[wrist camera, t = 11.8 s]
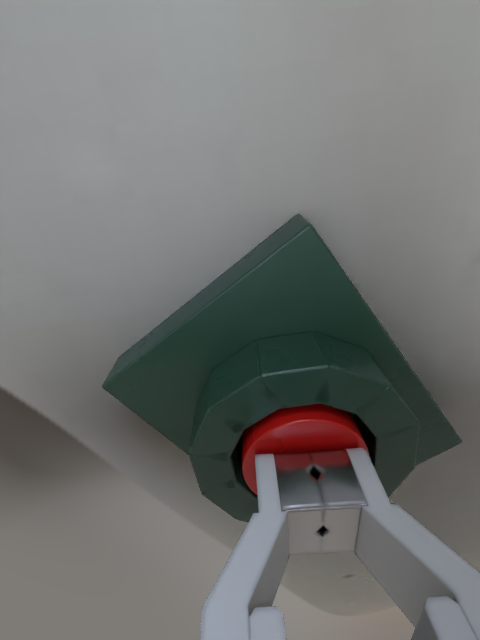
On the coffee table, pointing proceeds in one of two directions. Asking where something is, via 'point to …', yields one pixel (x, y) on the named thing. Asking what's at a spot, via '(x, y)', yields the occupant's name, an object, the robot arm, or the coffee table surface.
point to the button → (298, 434)
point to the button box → (277, 367)
